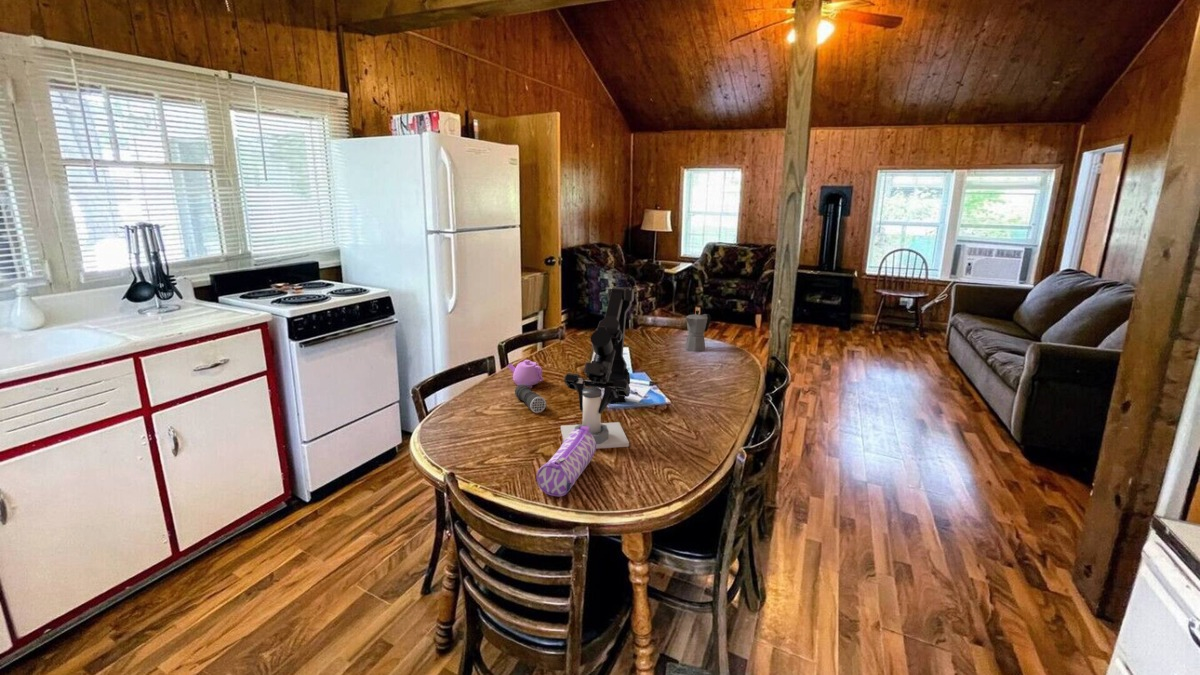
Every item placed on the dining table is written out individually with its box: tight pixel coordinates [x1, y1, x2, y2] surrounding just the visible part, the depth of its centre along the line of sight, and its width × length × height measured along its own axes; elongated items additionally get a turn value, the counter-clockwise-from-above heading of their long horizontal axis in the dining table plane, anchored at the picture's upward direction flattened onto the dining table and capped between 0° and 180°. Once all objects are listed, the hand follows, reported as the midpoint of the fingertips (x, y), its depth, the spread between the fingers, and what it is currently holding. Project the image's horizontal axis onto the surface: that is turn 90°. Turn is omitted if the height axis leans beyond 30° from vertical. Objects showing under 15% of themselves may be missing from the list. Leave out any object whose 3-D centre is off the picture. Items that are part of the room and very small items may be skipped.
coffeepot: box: [684, 310, 712, 353], centre depth 248 cm, size 15×9×18 cm, turn 125°
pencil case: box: [536, 426, 597, 497], centre depth 138 cm, size 22×9×10 cm, turn 163°
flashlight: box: [514, 384, 547, 414], centre depth 183 cm, size 15×5×5 cm, turn 30°
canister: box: [582, 386, 603, 435], centre depth 156 cm, size 5×5×12 cm
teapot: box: [507, 359, 544, 389], centre depth 202 cm, size 10×15×9 cm
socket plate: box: [560, 421, 630, 450], centre depth 160 cm, size 18×14×4 cm
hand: (590, 411), depth 154 cm, fingers closed on canister, 5 cm apart
